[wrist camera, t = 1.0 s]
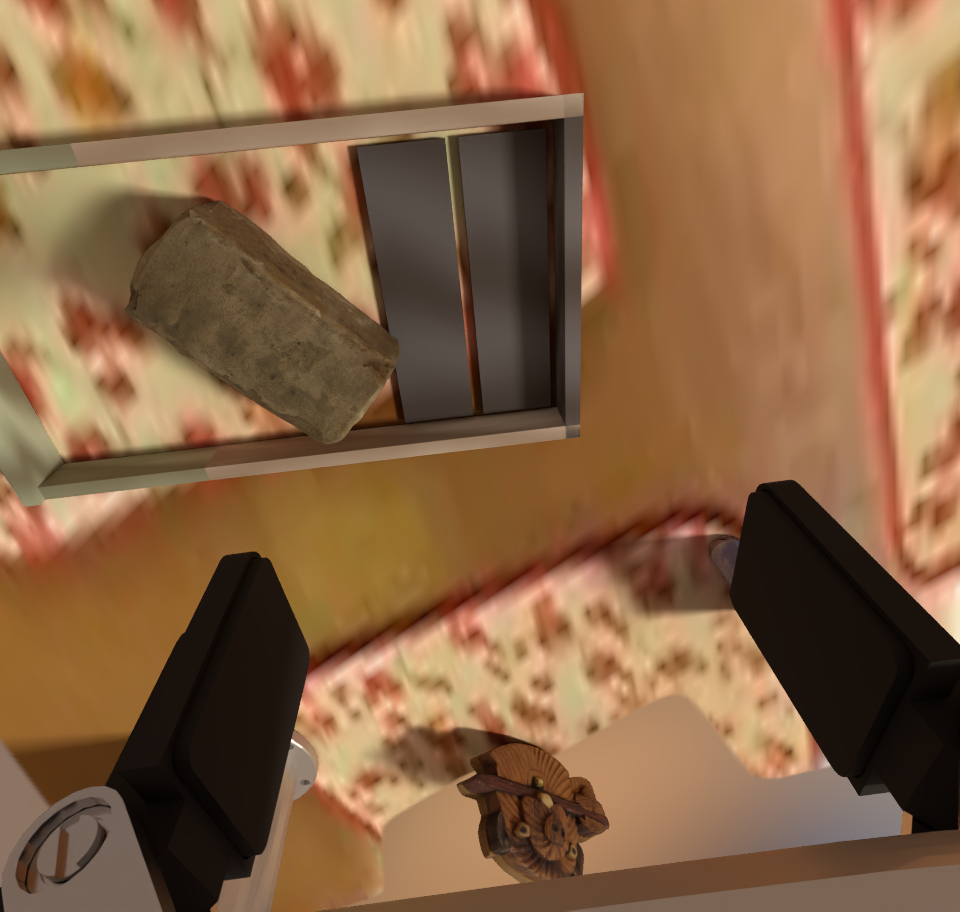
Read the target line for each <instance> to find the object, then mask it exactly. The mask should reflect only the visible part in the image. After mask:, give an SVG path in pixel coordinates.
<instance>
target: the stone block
mask: <svg viewBox="0 0 960 912" xmlns="http://www.w3.org/2000/svg"><path fill="white" fill-rule="evenodd" d="M130 288H131V297H130V301H129V304H128V305H127V306H126V307H125V310H126V312H127V313H128V315H129V317H130V319H132V320H134V321H136V322H138V323H140V324H142V325H143V326H145V327H147V328H149V329H151V330H153V331H154V332H156V333H158V334H159V335H161V336H162V337H163V338H165V339H166V340H167V341H169V342H170V343H171V344H172V345H173V346H174V347H175V348H176V349H177V350H178V351H179V352H180V353H181V354H182V355H184V356H185V357H187V358H189V359H190V360H192V361H194V362H195V363H197V364H199V365H200V366H202V367H204V368H205V369H207V370H208V371H210V372H211V373H213V374H214V375H216V376H217V377H218V378H220V379H221V380H223V381H224V382H226V383H227V384H229V385H230V386H232V387H233V388H235V389H236V390H238V391H239V392H241V393H242V394H244V395H245V396H247V397H248V398H250V399H251V400H253V401H254V402H256V403H257V404H259V405H260V406H262V407H264V408H265V409H267V410H268V411H270V412H271V413H273V414H275V415H276V416H278V417H280V418H281V419H283V420H285V421H287V422H288V423H290V424H292V425H294V426H295V427H297V428H298V429H300V430H301V431H303V432H304V433H306V434H307V435H308V436H310V437H311V438H312V439H314V440H316V441H317V442H319V443H322V444H334V443H337V442H339V441H340V440H342V439H343V438H344V437H345V436H346V435H347V434H348V433H349V431H350V430H351V428H352V427H353V426H354V425H355V424H356V423H357V422H358V421H359V420H360V419H361V418H362V417H363V415H364V414H365V413H366V411H367V410H368V408H369V407H370V405H371V404H372V402H373V401H374V400H375V399H376V397H377V396H378V394H379V393H380V392H381V390H382V389H383V387H384V385H385V383H386V381H387V379H388V378H389V377H390V376H391V374H392V372H393V370H394V369H395V366H396V364H397V361H398V359H399V356H400V354H401V351H400V347H399V343H398V340H397V339H396V338H395V337H393V336H392V335H391V334H389V333H388V332H387V331H386V330H385V329H384V328H383V327H381V326H380V325H379V324H378V323H376V322H375V321H374V320H372V319H371V318H369V317H368V316H367V315H366V314H364V313H363V312H362V311H361V310H359V309H358V308H357V307H356V306H354V305H353V304H352V303H350V302H349V301H348V300H347V299H345V298H344V297H343V296H342V295H341V294H339V293H338V292H337V291H335V290H334V289H333V288H332V287H330V286H329V285H328V284H326V283H325V282H323V281H322V280H320V279H319V278H317V277H315V276H314V275H313V274H312V273H311V272H310V271H309V270H308V269H307V268H306V267H305V266H304V265H303V264H301V263H300V262H299V261H297V260H296V259H295V258H293V257H292V256H291V255H290V254H289V253H287V252H286V251H285V250H284V249H283V248H282V247H281V246H280V245H279V244H278V243H277V242H276V241H275V240H274V239H273V238H272V237H271V236H269V235H268V234H267V233H266V232H265V231H263V230H262V229H261V228H260V227H259V226H257V225H256V224H255V223H253V222H252V221H251V220H249V219H248V218H247V217H245V216H244V215H242V214H241V213H239V212H237V211H236V210H234V209H233V208H231V207H230V206H228V205H227V204H225V203H224V202H222V201H220V200H218V201H214V202H210V203H206V204H202V205H201V206H194V207H192V208H190V209H189V210H187V211H186V212H184V213H183V214H182V215H181V216H180V217H179V218H178V219H176V220H175V221H174V222H173V224H172V225H171V226H170V227H169V229H168V230H167V231H166V232H165V234H164V235H163V236H162V237H161V238H160V239H159V240H157V241H156V242H155V243H153V244H152V245H151V246H150V247H149V248H148V249H147V250H146V251H145V253H144V254H143V255H142V257H141V259H140V260H139V262H138V264H137V267H136V269H135V272H134V275H133V278H132V282H131V285H130Z"/></svg>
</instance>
